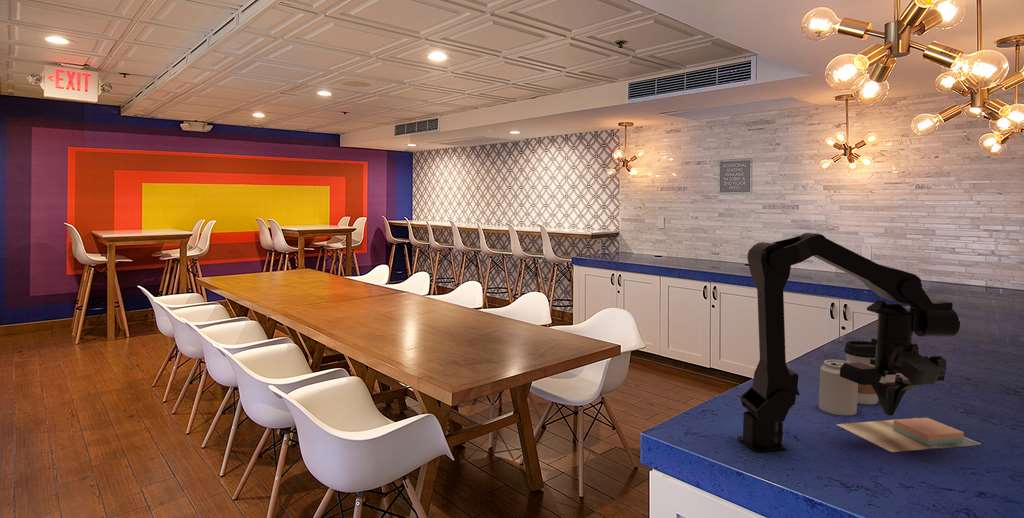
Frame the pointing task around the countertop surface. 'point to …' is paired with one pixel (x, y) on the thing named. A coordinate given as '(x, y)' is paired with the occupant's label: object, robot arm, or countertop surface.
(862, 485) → the countertop surface
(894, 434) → the board
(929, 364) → the robot arm
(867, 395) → the coffee cup
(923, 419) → the tile
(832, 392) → the can
